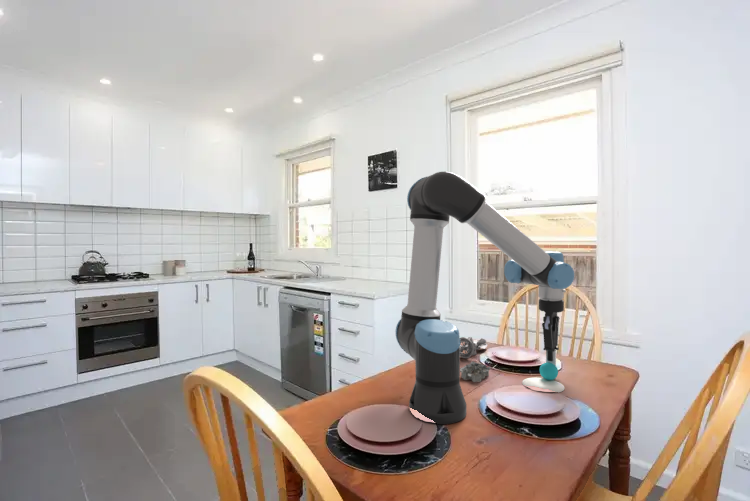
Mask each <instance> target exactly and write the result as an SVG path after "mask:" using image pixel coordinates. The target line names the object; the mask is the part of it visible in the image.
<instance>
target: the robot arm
mask: <svg viewBox="0 0 750 501" xmlns="http://www.w3.org/2000/svg"><path fill="white" fill-rule="evenodd" d="M406 199H407V205H408V208H409V210H410V213H409V214H410V217H409V221H410V222H411V223H412V225H413V227H414V228H413V237H412V239H413V240H412V250H411V262H410V273H409V284H408V295H407V296H408V297H407V305H406V306H404V307H403V308H402V309H401V316H400V319H399V320H398V322H397V324H396V326H395V338H396V341H397V344H398V346H399V347H400V348H401V349H402V350H403V352H405V353H406V354H408V355H409V356H410V357H411V358H412V359H413V360H414V361H415V363H414V364H415V382H414V385H413V388H412V391H411V394H410V398H409V400H408V402H409V403H408V405H409V406H408V408H409V407H410V408H412V409H414V410H417V411H418V412H419V413H421V414H422V415H424V416H425V417H427V418H429V419H431V420H433V421H434V422H436V423H437V424H436V425H450V424H454V423H458V422H460V421H462V420H464V419H465V418H466V417H467V401H466V400H465V395H464V393H463V389H462V386H461V382H460V379H461V378H460V377H461V372H460V368H461V366H460V365H461V364H460V363H461V360H460V359H461V357H460V345H461V344H460V338H461V336H460V330H459V329H458V327H457V325H455V324H454V323H452V322H449V321H444V320H443V319H441V313H440V311H439V310H438V309H437V301H438V300H437V299H438V291H439V289H438V288H439V281H440V280H439V278H440V267H441V258H442V249H443V248H442V246H443V233H444V228H445V227H446V226H447V225H448V224H449V223H450V217H452V218H454V219H456V220H457V221H458V222H459V223H460V224H467V225H469V226H470V227H471V228H473V229H474V230H475V231H476V232H478V233H479V234H480V235H481V236H483V238H485V239H486V240H488V241H489V242H490V243H491V244H493V245H494V246H495V247H496V248H497V249H498V250H500V251H501V252H502V253H504V254H505V255H506V256H507V257H508V258H510V260H507V261H506V263H505V264H504V269H503V270H504V271H503V272H504V273H503V274H504V276H505V279H506V281H507V282H509V283H511V284H512V283H513V284H528V285H535V286H538V298H539V299H538V310H539V311H541V312H543V313H544V316H543V317H542V318H543V322H542V323H541V328H542V333H543V351H545V358H546V359H545V363H546V362H549V363H552V364H554V365H555V366H556V367H557V351H559V349H560V347H558V346H559V344H558V342H559V339H558V338H559V323H560V316H558V313H562V312H564V310H565V307H564V306H565V304H564V303H565V301H564V297H565V293H566V291H567V290H566V289H567V288H569V287H570V286H571V285H572V284H573V282H574V280H575V271H574V269H573V267H572V265H571V264H569V263H567V262H565V259H564V254H563V253H562V252H560V251H545V250H544V249H542V248H541V247H540V246H539V245H538V244H537V243H535V241H533V240H532V239H531V238H530V237H529V236H527V235H526V234H525V233H523V231H522V230H520V229H519V228H518V227H517V226H515V225H514V224H513V223H512V222H510V220H509V219H507V218H506V217H505V216H504V215H502V214H501V212H499V211H498V210H497V209H495V208H494V207H493V205H491V204H489V203H488V202H487V199H486V195H485V194H484V193H482V191H480V190H479V189H478V188H477V187H476V186H474V185H473V184H472V183H470V182H469V181H467V180H466V179H465V178H464V177H462V176H460V175H458V174H457V173H454V172H450V171H438V172H435V173H433V174H430V175H428V176H425V177H421V178H419V179H418V180H417V181H415V182H414V183H413V185H411V187H410V188H409V190H408V193H407V197H406Z"/></svg>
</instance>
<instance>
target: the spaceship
mask: <svg viewBox="0 0 750 501" xmlns="http://www.w3.org/2000/svg"><path fill="white" fill-rule="evenodd" d="M487 347H488V343H487V340H486V339H485V338H482V337H481V338H479V340H477V339H476V340H473V337H471V336H470V337H465V336H464V337H463V336H460V358H463V359H469V358H471V357H472V356H475V355H477V351H479V350H480V349H482V350H483V349H484V350H485V349H487Z"/></svg>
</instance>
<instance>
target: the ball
mask: <svg viewBox="0 0 750 501" xmlns="http://www.w3.org/2000/svg"><path fill="white" fill-rule="evenodd" d="M539 374H540V376H541V378H544V379H546V380H555V379H556V378H557V377H558V374H559V370H558V367H557V365H556V366H555V365H554V364H552V363H549V362H546V361H545V362H544V363H541V365H540V366H539Z"/></svg>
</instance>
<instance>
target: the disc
mask: <svg viewBox="0 0 750 501" xmlns="http://www.w3.org/2000/svg"><path fill="white" fill-rule="evenodd" d="M521 384H522V385H523V386H524V385H526V386H535V387H539V388H543V389H549V390H552V391H555V392H558V393H557V394H559V393H561V392H563V391H564V390H565V386H564V384H563V383H561V382H558V381H557V380H555V379H553V380H546V379H544V378H543V377H528V378H524V379H522V382H521Z"/></svg>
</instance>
